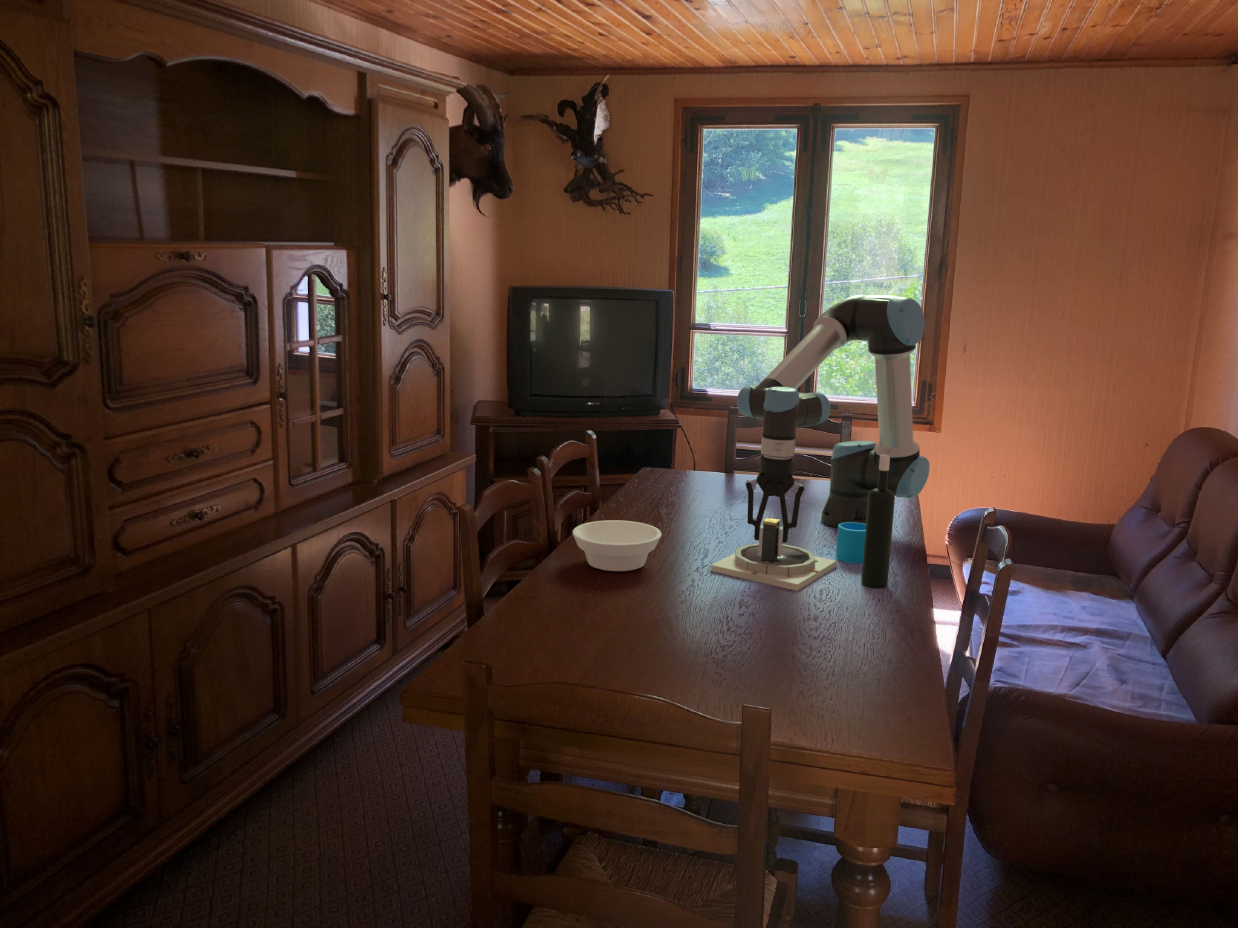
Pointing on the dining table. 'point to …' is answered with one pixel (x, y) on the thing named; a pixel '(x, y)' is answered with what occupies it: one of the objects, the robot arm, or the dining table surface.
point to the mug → (851, 542)
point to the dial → (773, 548)
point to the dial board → (774, 579)
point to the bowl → (616, 543)
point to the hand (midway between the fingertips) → (769, 554)
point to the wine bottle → (878, 530)
